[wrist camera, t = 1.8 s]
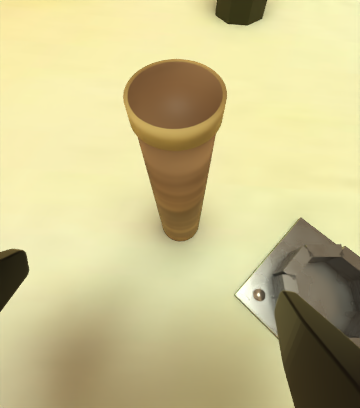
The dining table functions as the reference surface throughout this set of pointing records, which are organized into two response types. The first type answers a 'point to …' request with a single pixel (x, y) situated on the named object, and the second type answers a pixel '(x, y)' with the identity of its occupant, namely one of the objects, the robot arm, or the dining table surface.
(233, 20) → the wine bottle
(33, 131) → the dining table surface
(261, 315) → the cup bracket
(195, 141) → the tall ribbed vase
